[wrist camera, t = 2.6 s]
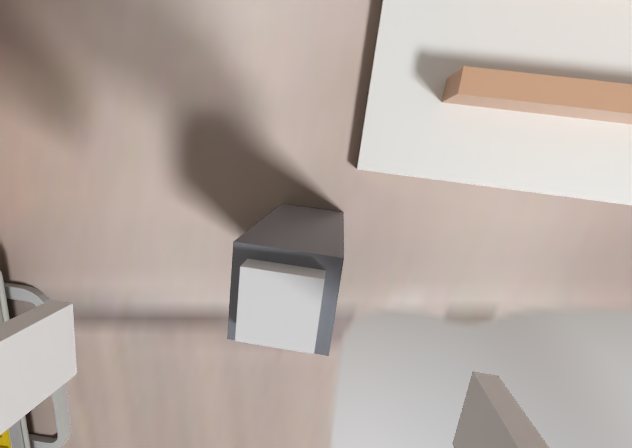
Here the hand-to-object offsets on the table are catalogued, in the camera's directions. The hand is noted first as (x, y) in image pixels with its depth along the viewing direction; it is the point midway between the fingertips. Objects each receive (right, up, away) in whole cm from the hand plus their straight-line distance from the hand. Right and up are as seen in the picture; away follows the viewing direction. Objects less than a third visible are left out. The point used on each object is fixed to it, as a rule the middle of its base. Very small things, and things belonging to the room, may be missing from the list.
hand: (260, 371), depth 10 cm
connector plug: (+1, +4, +15) cm, 15 cm away
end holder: (+18, +17, +10) cm, 27 cm away
